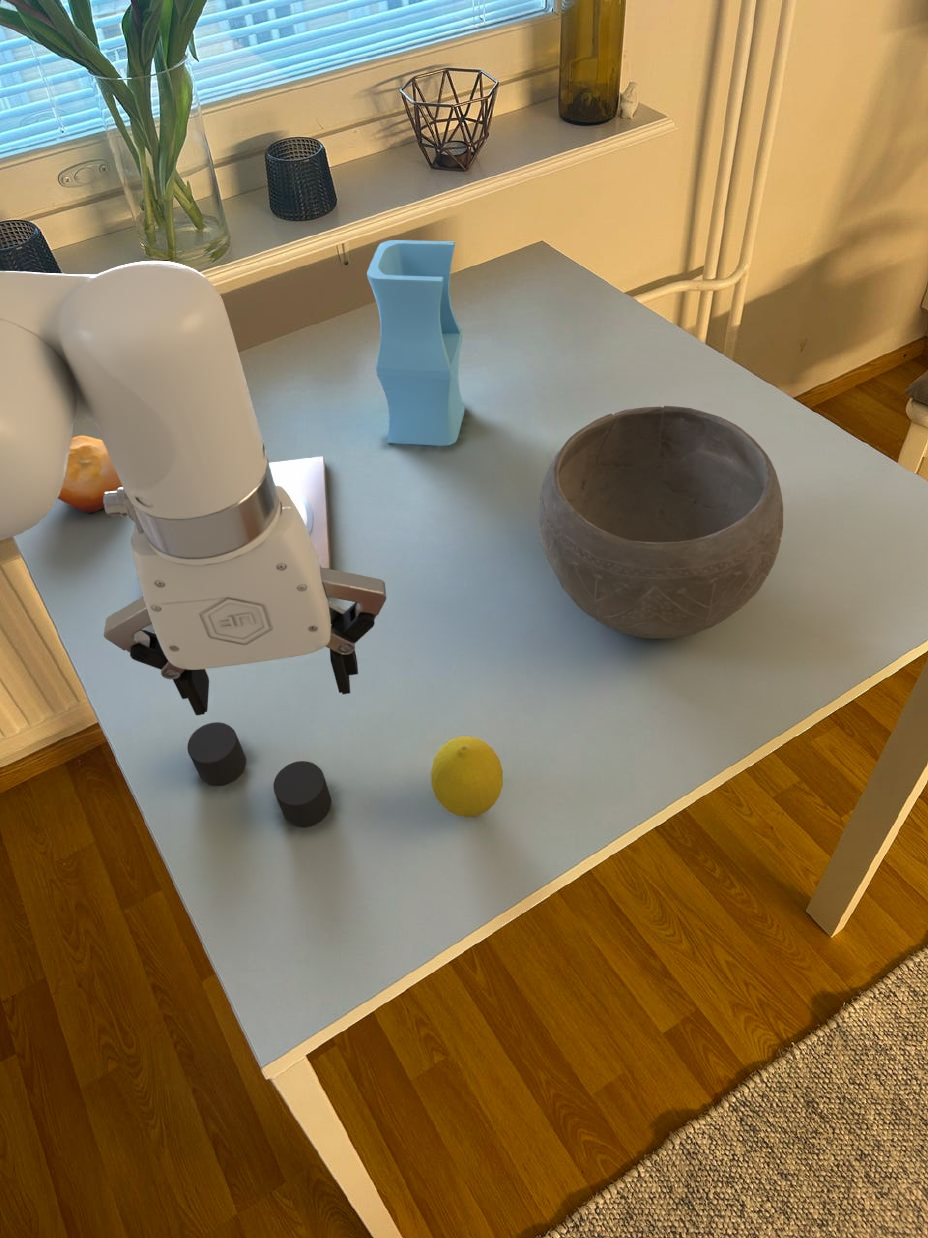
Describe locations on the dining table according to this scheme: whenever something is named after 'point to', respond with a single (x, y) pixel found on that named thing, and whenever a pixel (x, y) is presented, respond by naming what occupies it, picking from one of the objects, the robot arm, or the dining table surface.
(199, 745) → the dot
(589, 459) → the bowl
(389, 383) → the vase
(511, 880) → the dining table surface
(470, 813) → the lemon
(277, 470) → the board
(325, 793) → the dot
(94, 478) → the fruit
